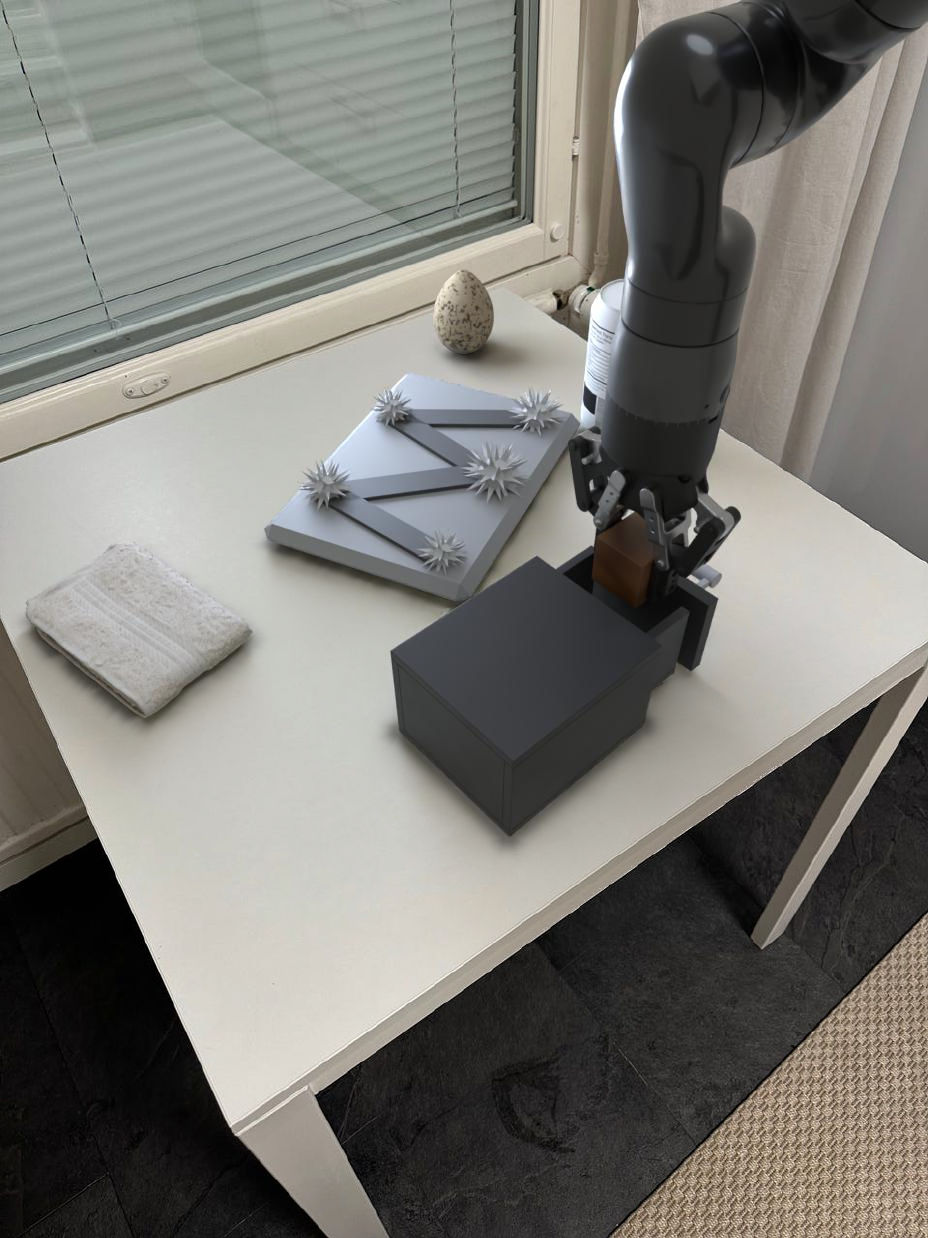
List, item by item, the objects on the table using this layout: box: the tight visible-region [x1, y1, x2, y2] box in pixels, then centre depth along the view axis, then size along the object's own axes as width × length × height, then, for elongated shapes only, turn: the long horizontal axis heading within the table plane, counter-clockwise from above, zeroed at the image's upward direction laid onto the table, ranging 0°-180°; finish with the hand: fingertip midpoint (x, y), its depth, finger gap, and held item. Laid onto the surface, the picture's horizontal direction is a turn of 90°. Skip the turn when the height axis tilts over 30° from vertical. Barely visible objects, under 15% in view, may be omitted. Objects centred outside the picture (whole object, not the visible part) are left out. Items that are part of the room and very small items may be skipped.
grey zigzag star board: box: [263, 372, 581, 603], centre depth 88 cm, size 30×22×7 cm
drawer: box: [555, 545, 723, 692], centre depth 71 cm, size 18×11×8 cm, turn 132°
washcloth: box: [24, 540, 253, 719], centre depth 76 cm, size 12×18×3 cm, turn 52°
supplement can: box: [580, 278, 624, 430], centre depth 92 cm, size 8×8×15 cm
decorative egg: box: [432, 269, 495, 355], centre depth 104 cm, size 7×7×10 cm
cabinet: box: [389, 555, 662, 837], centre depth 66 cm, size 15×13×10 cm
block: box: [592, 511, 671, 609], centre depth 67 cm, size 4×4×4 cm
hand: (632, 577), depth 68 cm, fingers closed on block, 4 cm apart
